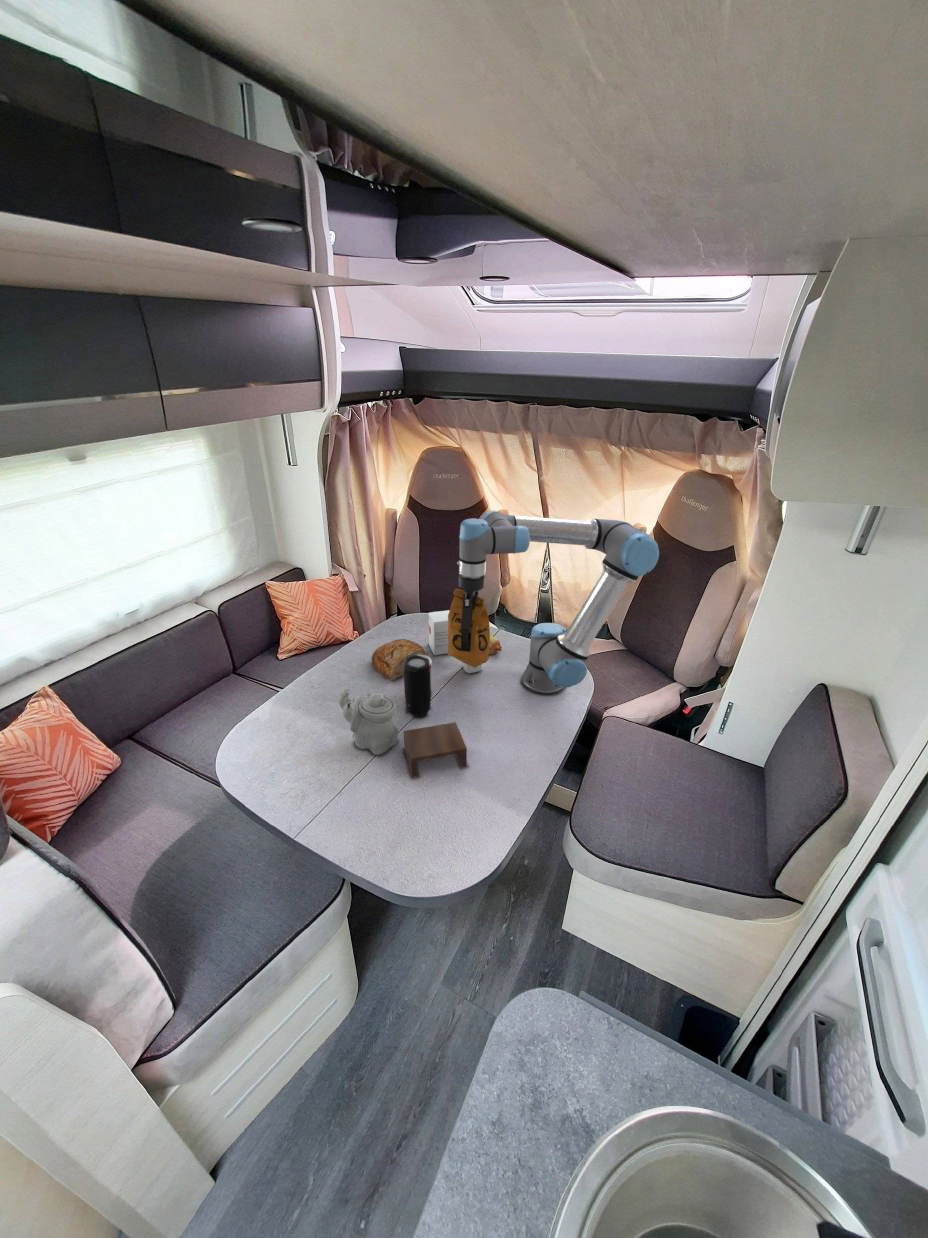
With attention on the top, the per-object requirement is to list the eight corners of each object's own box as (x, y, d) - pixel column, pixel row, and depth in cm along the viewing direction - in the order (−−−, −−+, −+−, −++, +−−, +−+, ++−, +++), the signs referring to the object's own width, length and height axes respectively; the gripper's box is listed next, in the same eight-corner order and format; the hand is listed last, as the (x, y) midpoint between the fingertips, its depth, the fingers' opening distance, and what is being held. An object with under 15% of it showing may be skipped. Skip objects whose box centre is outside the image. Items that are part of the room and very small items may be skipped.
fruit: (475, 639, 202) (494, 647, 196) (486, 629, 206) (505, 637, 199) (477, 651, 206) (496, 660, 200) (488, 642, 210) (507, 650, 204)
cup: (484, 672, 191) (485, 638, 184) (466, 676, 189) (467, 641, 182) (476, 662, 197) (477, 629, 190) (459, 666, 195) (459, 632, 188)
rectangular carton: (428, 644, 209) (427, 612, 202) (449, 641, 211) (449, 609, 204) (433, 656, 201) (433, 622, 194) (455, 652, 203) (456, 619, 197)
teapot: (341, 731, 160) (335, 681, 152) (388, 719, 166) (385, 670, 157) (353, 765, 147) (347, 713, 138) (403, 751, 152) (401, 700, 144)
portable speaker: (412, 722, 165) (409, 671, 156) (401, 706, 172) (398, 657, 163) (436, 714, 168) (435, 664, 159) (424, 699, 176) (423, 650, 166)
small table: (455, 740, 157) (455, 722, 154) (466, 767, 147) (466, 748, 144) (404, 749, 153) (403, 731, 150) (411, 777, 143) (411, 758, 140)
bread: (390, 684, 183) (388, 660, 179) (363, 663, 196) (361, 640, 191) (434, 664, 196) (434, 641, 191) (407, 645, 208) (406, 624, 203)
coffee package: (472, 672, 151) (474, 605, 141) (442, 656, 158) (443, 591, 148) (494, 660, 157) (498, 595, 147) (465, 645, 165) (467, 582, 155)
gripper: (466, 558, 156) (464, 621, 166) (450, 589, 135) (449, 659, 145) (490, 560, 155) (486, 624, 165) (478, 592, 134) (475, 662, 144)
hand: (469, 640), depth 155 cm, fingers closed on coffee package, 11 cm apart
